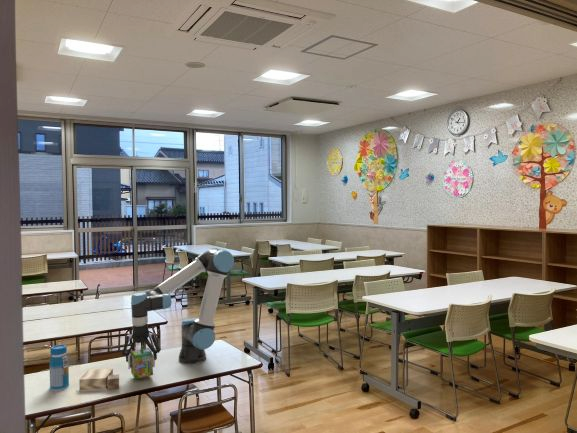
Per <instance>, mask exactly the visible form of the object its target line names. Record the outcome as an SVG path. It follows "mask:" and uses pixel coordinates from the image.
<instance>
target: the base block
mask: <svg viewBox="0 0 577 433" xmlns="http://www.w3.org/2000/svg"><path fill="white" fill-rule="evenodd" d="M109 375H114V369H113V368H104V369H88V370H86V372H85V373H83V375H82V376H81V377H80V378H79V379H78V380H79V387H80V389H79V390H95V389H108V376H109Z"/></svg>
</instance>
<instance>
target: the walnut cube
mask: <svg viewBox="0 0 577 433" xmlns="http://www.w3.org/2000/svg"><path fill="white" fill-rule="evenodd" d="M107 389H108V390H107V391H111V390H118V389H120V374H119V373H118V374H113V375H109V376H108V386H107Z"/></svg>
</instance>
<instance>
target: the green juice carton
mask: <svg viewBox="0 0 577 433" xmlns="http://www.w3.org/2000/svg"><path fill="white" fill-rule="evenodd" d="M130 354H131V368H130V370H131V371H130V373H131V375H132V376H133V378H134V380H138V379H140V378H141V379H142V378H146V377H151V376H154V369H153V368H154V367H153V362H152V354H153V352H152V351H151V350H150V348H149V347H146V348H145V345H143V344H141V345H140V349H136V350H131V351H130Z"/></svg>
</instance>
